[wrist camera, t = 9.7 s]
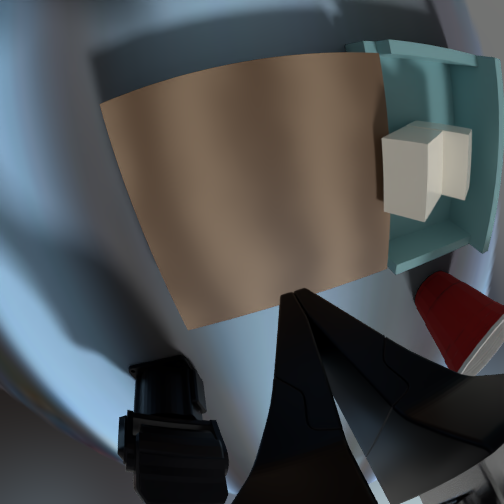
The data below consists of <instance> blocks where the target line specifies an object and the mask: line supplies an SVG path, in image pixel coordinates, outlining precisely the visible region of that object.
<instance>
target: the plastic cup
mask: <svg viewBox="0 0 504 504" xmlns="http://www.w3.org/2000/svg"><path fill="white" fill-rule="evenodd" d="M415 305H416V306H417V310H418V311H419V313H420V315H421V316H422V318H423V320H424V322H425V323H426V324H425V325H426V327H427V328H428V330H429V332H430V334H431V335H432V337H433V339H434V341H435V343H436V345H437V346H438V348H439V350H440V352H441V354H442V356H443V358H444V359H445V363H446V365H447V366H448V368H449V369H450V370H453V371H455V372H457V373H460V374H464V375H469V376H475V375H476V374H477V373H478V372H479V371H480V370H481V369H482V368H483V367H484V366H485V365H486V364H487V363H488V362H489V360H490V359H491V358H492V357H493V356H494V354H495V353H496V352H497V350H498V349H499V348H500V346H501V345H502V343H503V342H504V305H501V304H499V303H498V302H495V301H493V300H492V299H490V298H489V297H487V296H486V295H484V294H482V293H481V292H479V291H478V290H476V289H474V288H473V287H471V286H469V285H468V284H466V283H464V282H461V281H460V280H458V279H457V278H455V277H453V276H452V275H450V274H448V273H445V272H443V271H439V272H435V273H434V274H432V275H431V276H429V277H428V278H427V279H426V280H425V281H424V282H423V283H422V285H421V286H420V288H419V290H418V291H417V294H416V297H415Z"/></svg>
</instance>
